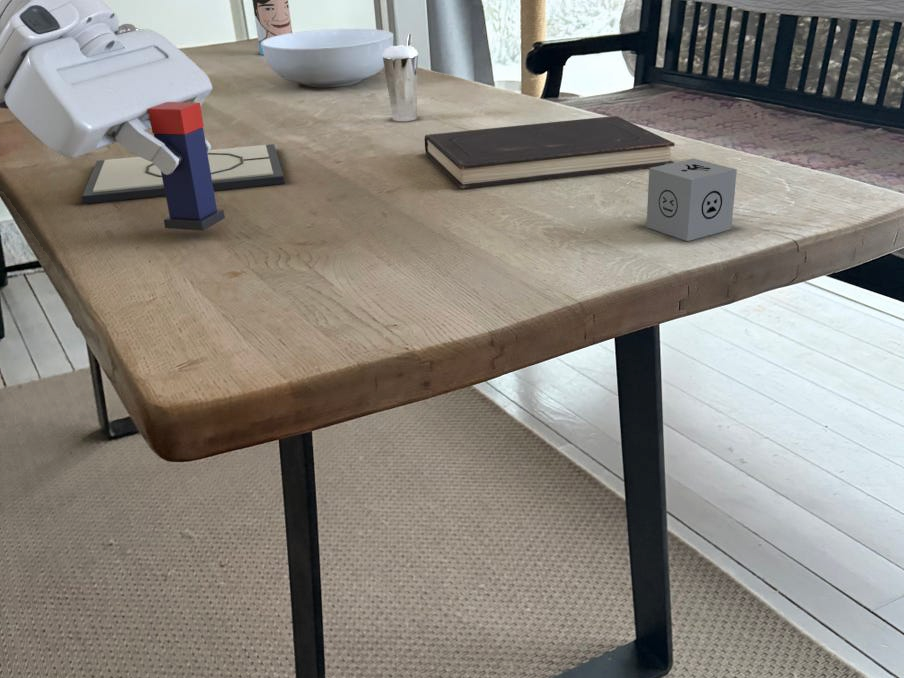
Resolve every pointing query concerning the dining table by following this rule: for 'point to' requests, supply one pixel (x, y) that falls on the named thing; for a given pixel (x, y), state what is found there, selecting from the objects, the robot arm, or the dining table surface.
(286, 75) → the serving bowl
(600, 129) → the hardcover book
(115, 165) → the beige flat board
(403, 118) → the milkshake
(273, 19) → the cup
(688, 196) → the dice cube
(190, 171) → the blue and red block
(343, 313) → the dining table surface
